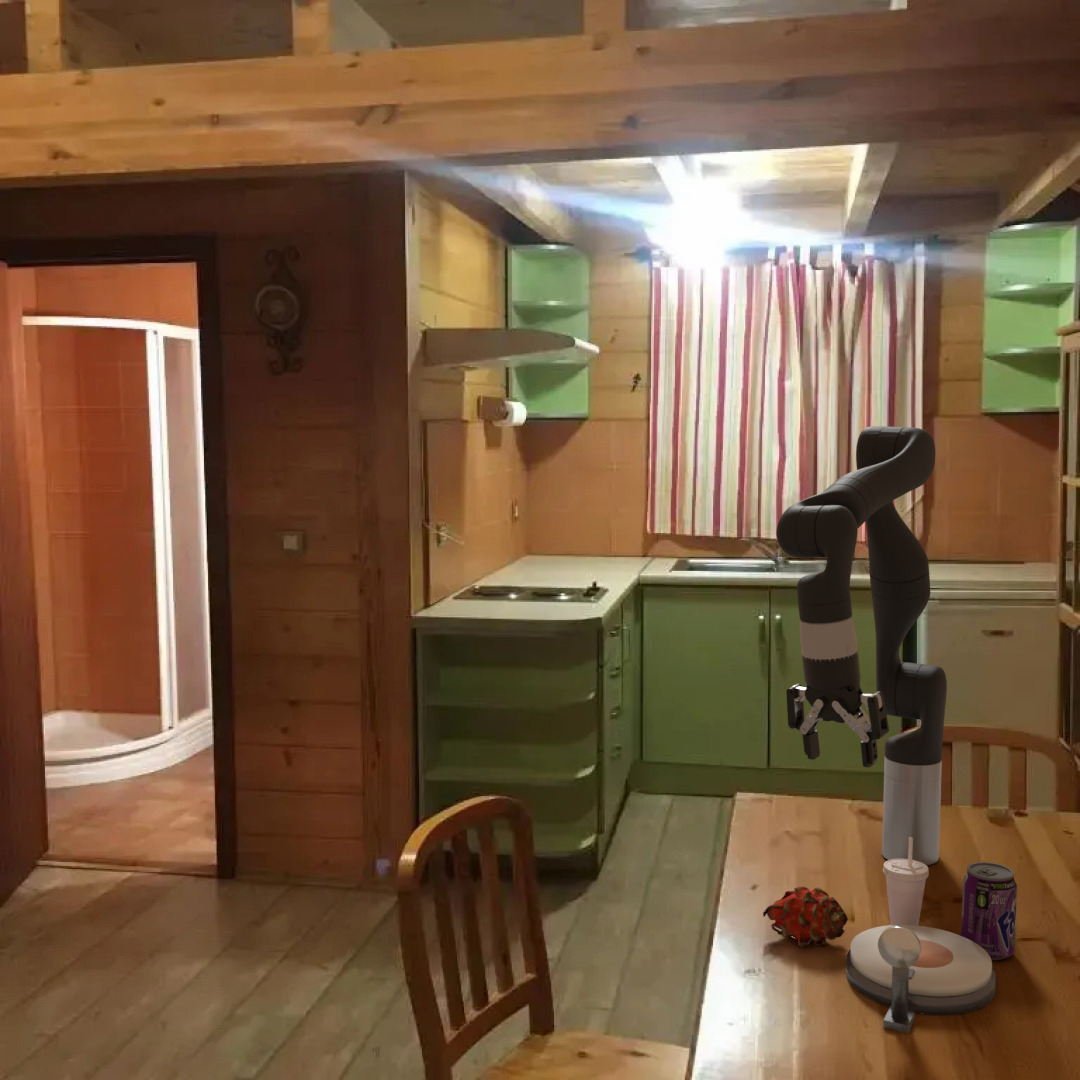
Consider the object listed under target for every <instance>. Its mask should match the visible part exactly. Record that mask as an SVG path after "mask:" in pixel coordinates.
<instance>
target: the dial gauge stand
mask: <svg viewBox="0 0 1080 1080" xmlns="http://www.w3.org/2000/svg"><path fill="white" fill-rule="evenodd" d="M878 950H879V953H880V955H881V957H882V958H883V959H884V960H885V961H886V962H887V963H888V964H890V965H891V966H892V997H891V1006H890V1007H889V1008H888V1009H887V1012H886V1014H885V1016H884V1018H883V1025H882V1026H883V1029H887V1030H892V1031H895V1032H901V1033H905V1034H909V1033H910V1031H911V1028H912V1026H913V1024H914V1021H915V1017H916V1013H915V1011H911V1010H908V991H909V967H911V966H912V965H914V964H915V963H916V962H917V960H918V958H919V956H920V953H921V944H920V941H919V939H918V937H917V936H916V934H915V933H914V932H913V931H911V930H910V929H908V928H906V927H904V926H900V925H894V926H890V927H888V928H886V929H885V930H884V931H883V932H882V934H881V935H880V937H879V940H878Z"/></svg>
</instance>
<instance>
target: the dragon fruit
mask: <svg viewBox="0 0 1080 1080" xmlns="http://www.w3.org/2000/svg"><path fill="white" fill-rule="evenodd" d="M766 915H767V917H768V919H769V920H770V921H775V922H774V923H772V924H770V927H771V930H772V931H773V932H775V933H777V935H779V936H783V937H784V936H789V937H790V936H793V937H795V938H796V939H795V940H797V944H798V946H799V947H801V946H802V948H803V947H804V946H809V945H810V943H811V942H813V943H814V944H815V946H822V945H825V944H827V940H830V941H833V940H836V938H841V937H842V936H843V935H844V934H845V932H846V931H845V930H844V927H845V926H846V924H847V922H848V920H849V918H848V916H847V913H845V910H844V909H843V908H842V905H841V904H840V903H839V901H837V899H835V897H833V896H829V894H828V893H827V892H826V891H825V890H823V889H822V888H821V887H814V889H812V890H811V889H809V888H808V887H806V886H797V887H795V888H794V890H787V891H785V892H784V895H783V896H782V897H781V898H780V899H777V900H776V901H774V903H772V904H770V905H769V906H767V907H766V909H764V911H763V912H762V917H763V918H765V917H766Z"/></svg>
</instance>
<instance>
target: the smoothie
mask: <svg viewBox="0 0 1080 1080" xmlns="http://www.w3.org/2000/svg"><path fill="white" fill-rule="evenodd" d="M912 847H913V838H912V837H909V848H908V859H891V860H888V859H887V860H886V861H885V862H884V863H883V869H882V872H883V873H884V874H885V882H886V891H887V892H886V893H887V902H888V903H887V904H888V913H889V921H890V924H889V925H916V926H919V923H920V916H921V910H922V906H923V905H922V904H923V899H924V894H925V886H926V882H927V881H926V880H927V879H928V877H929V875H930V874H929V870H930V869H929V867H928V865H925V864H923V863H921V862H919V861H915V860H912Z"/></svg>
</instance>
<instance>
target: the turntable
mask: <svg viewBox="0 0 1080 1080" xmlns="http://www.w3.org/2000/svg"><path fill="white" fill-rule="evenodd" d="M890 926H894V925H891V924H888V925H881V926H875V927H872V928H869V929H868V928H867V929H866V930H864V931H861V932H860V933H858V934H857V935H855V936H854V937H853V939H852V940H851V942H850V949H851V951H850V959H851V962H852V964H853V966H854V967H855V969H856V970H857V971H858V972H859V973H860V974H862V975H863V976H865V977H866V978H868V979H869V980H871V981H873V982H875V983H877V984H879V985H882V986H885V987H887V988H890V989H892V966H891V965H890V964H888V963H887V962H886V961H885V960H884V959H883V958H882V957H881V955H880V953H879V950H878V940H879V937H880V935H881V934H882V932H883V931H884V930H885V929H886V928H888V927H890ZM900 926H904V927H906V928H908V929H910V930H911V931H913V932H914V933H915V934H916V936H917V937H918V939H919V941H920V944H921V953H920V956H919V958H918V960H917V962H916V963H915V964H914V965H912V966H911V967H909V991H908V993H910V994H915V995H923V996H942V997H945V996H957V995H964V994H968V993H972V992H975V991H977V990H979V989H981V988H983V987H984V986H986V985H987V984H988V983H989V981H990V979H991V975H992V968H993V960H991V958H990V956H989V954H988V953H987V952H986V951H985V950H984V949H983V948H982V947H981V946H979V945H978V944H976V943H974V942H973V941H971V940H969V939H967V938H965V937H962V936H961V934H960V935H959V934H957V933H954V932H951V931H948V930H944V929H940V928H935V927H929V926H924V925H918V926H916V925H900Z"/></svg>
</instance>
